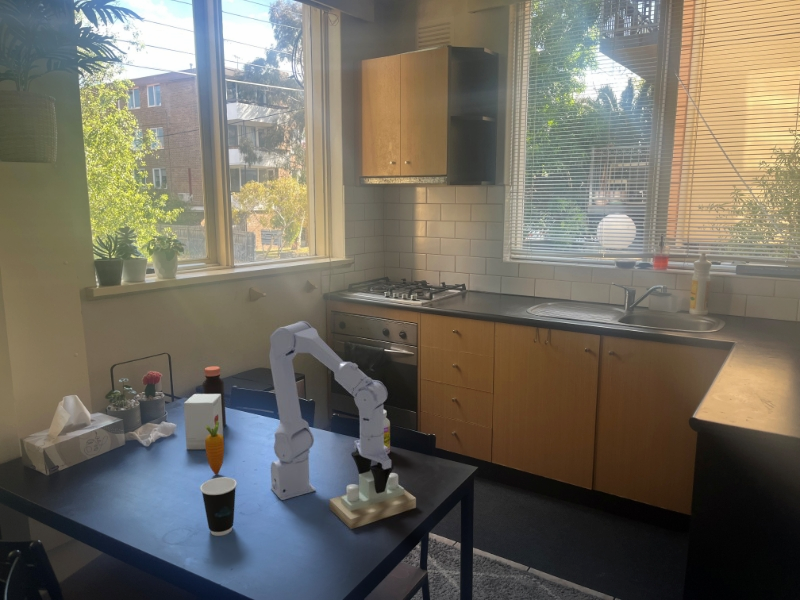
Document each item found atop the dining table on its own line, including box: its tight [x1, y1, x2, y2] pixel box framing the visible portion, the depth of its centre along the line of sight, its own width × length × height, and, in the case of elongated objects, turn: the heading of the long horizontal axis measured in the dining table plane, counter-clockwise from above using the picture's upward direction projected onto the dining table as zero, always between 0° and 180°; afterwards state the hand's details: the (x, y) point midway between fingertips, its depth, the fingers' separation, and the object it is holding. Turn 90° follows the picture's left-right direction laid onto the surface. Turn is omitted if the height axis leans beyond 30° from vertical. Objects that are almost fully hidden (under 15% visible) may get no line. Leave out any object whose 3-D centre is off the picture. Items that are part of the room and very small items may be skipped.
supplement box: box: [183, 393, 224, 450], centre depth 184 cm, size 9×9×15 cm
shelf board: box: [328, 489, 417, 530], centre depth 145 cm, size 18×11×2 cm, turn 123°
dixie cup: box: [199, 476, 238, 537], centre depth 135 cm, size 8×8×11 cm
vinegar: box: [202, 365, 227, 427], centre depth 198 cm, size 7×7×20 cm
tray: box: [341, 470, 405, 511], centre depth 145 cm, size 15×5×6 cm, turn 123°
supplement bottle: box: [383, 408, 391, 455], centre depth 177 cm, size 7×7×13 cm
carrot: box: [205, 421, 225, 476], centre depth 163 cm, size 5×5×15 cm
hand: (372, 485), depth 144 cm, fingers open, 7 cm apart
